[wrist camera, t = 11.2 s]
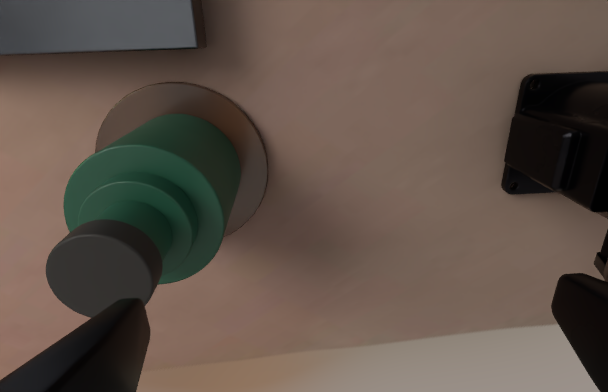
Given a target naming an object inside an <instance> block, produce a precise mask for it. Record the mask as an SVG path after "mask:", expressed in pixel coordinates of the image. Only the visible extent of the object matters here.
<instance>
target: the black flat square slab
mask: <svg viewBox="0 0 608 392" xmlns="http://www.w3.org/2000/svg"><path fill="white" fill-rule="evenodd" d="M206 47H207V44H206V36H205V28H204V20H203V12H202V4H201V0H0V55H29V54H59V53H88V52H117V51H146V50H175V49H199V48H206Z"/></svg>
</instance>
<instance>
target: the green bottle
mask: <svg viewBox="0 0 608 392" xmlns="http://www.w3.org/2000/svg"><path fill="white" fill-rule="evenodd" d="M240 177H241V168H240V162H239V158H238V155H237V153H236V151H235V148H234V147H233V145H232V143H231V142H230V140H229V139H228V138H227V137H226V136H225V134H224V133H222V132H221V131H220V130H219V129H218V128H217V127H215V126H214V125H213V124H211V123H209V122H207V121H206V120H203V119H201V118H198V117H195V116H192V115H186V114H167V115H163V116H159V117H156V118H154V119H151V120H150V121H148V122H146V123H145V124H143V125H141V126H140V127H138V128H136V129H135V130H133V131H131V132H130V133H128V134H126V135H125V136H123V137H121V138H120V139H118V140H116V141H115V142H113V143H111V144H110V145H108V146H106V147H105V148H103V149H101V150H100V151H98V152H96V153H95V154H93V155H91V156H90V157H88V158H87V159H86V160H84V161H83V162H82V163H81V164H80V165H79V166H78V167H77V169H76V170H75V171H74V173H73V174H72V176H71V177H70V180H69V182H68V184H67V187H66V191H65V195H64V215H65V219H66V224H67V226H68V229H69V231H70V233H69V234H68V235H67V236H66V237H65V238H64V239H63V240H62V241H60V242H59V243H58V244H57V245H56V246H55V247H54V248H53V250H52V251H51V253H50V254H49V257H48V260H47V264H46V277H47V280H48V283H49V286H50V288H51V289H52V291H53V293H54V294H55V295H56V296H57V298H58V299H59V300H60V301H61V302H62V303H63V304H65V305H66V306H67V307H69V308H70V309H72V310H73V311H75V312H77V313H79V314H82V315H84V316H87V317H91V318H93V317H94V316H96V315H97V314H99V313H100V312H101V311H103V310H104V309H106V308H107V307H109V306H110V305H112V304H113V303H115V302H116V301H118V300H119V299H123V298H140V299H142V301H143V303H144V306H145V305H146V304H147V303H148V301H149V300H150V298H151V296H152V294H153V292H154V290H155V288H156V287H157V285H158V284H167V283H173V282H177V281H180V280H183V279H186V278H188V277H190V276H192V275H194V274H196V273H197V272H199V271H200V270H202V269H203V268H204V267H205V266H206V265H207V264H208V263H209V262H210V261H211V260H212V259H213V258H214V256H215V255H216V253H217V251H218V250H219V247H220V245H221V243H222V240H223V236H224V233H225V230H226V227H227V223H228V220H229V217H230V214H231V211H232V207H233V204H234V201H235V198H236V194H237V191H238V188H239V184H240Z"/></svg>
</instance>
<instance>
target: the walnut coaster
mask: <svg viewBox="0 0 608 392" xmlns="http://www.w3.org/2000/svg"><path fill="white" fill-rule="evenodd" d="M167 114H186V115H192V116H195V117H198V118H201V119H203V120H206V121H207V122H209V123H211V124H213V125H214V126H215V127H217V128H218V129H219V130H220V131H221V132H222V133H224V134H225V136H226V137H227V138H228V139H229V140H230V142H231V143H232V145H233V147H234V148H235V151H236V153H237V155H238V158H239V162H240V168H241V177H240V184H239V188H238V191H237V194H236V198H235V201H234V204H233V207H232V211H231V214H230V217H229V220H228V223H227V227H226V230H225V233H224V236H223V237H225V236H227V235H229V234H231V233H233V232H234V231H236V230H237V229H239V228H240V227H242V226H243V225H244V224H245V223H246V222H247V221H248V220H249V219H250V218H251V217H252V215H253V214H254V213H255V212H256V210H257V208H258V207H259V205H260V203H261V201H262V199H263V196H264V193H265V190H266V186H267V178H268V162H267V155H266V151H265V147H264V144H263V141H262V139H261V137H260V135H259V133H258V131H257V129H256V128H255V126H254V124H253V123H252V122H251V120H250V119H249V118H248V116H247V115H246V114H245V113H244V112H243V111H242V110H241V109H240V108H239V107H238V106H237V105H235V104H234V103H233V102H232V101H230V100H229V99H227V98H226V97H224V96H222V95H221V94H219V93H217V92H215V91H213V90H210V89H208V88H206V87H202V86H199V85H196V84H190V83H184V82H165V83H157V84H153V85H149V86H146V87H143V88H141V89H138V90H136V91H134V92H132V93H130V94H129V95H127V96H125V97H124V98H123V99H122V100H120V101H119V102H118V103H117V104H116V105H115V106H114V107H113V108H112V109H111V111H110V112H109V113H108V115H107V116H106V118H105V119H104V121H103V123H102V125H101V128H100V130H99V133H98V137H97V141H96V150H95V153H96V152H98V151H100V150H101V149H103V148H105V147H106V146H108V145H110V144H111V143H113V142H115V141H116V140H118V139H120V138H121V137H123V136H125V135H126V134H128V133H130V132H131V131H133V130H135V129H136V128H138V127H140V126H141V125H143V124H145V123H146V122H148V121H150V120H151V119H154V118H156V117H159V116H163V115H167Z"/></svg>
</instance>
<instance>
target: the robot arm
mask: <svg viewBox="0 0 608 392" xmlns="http://www.w3.org/2000/svg"><path fill="white" fill-rule="evenodd" d="M533 80H534V81H535V85H534V87H533V88H532V89H531V88H530V84H531V82H532V81H533ZM504 161H505V168H504V173H503V179H502V184H501V186H502V189H503V190H504V191H506V192H507V193H509V194H530V193H551V192H558V193H560V194H561V195H563V196H565V197H567V198H569V199H570V200H572V201H574V202H576V203H577V204H579V205H581V206H583V207H585V208H586V209H588V210H590V211H592V212H596V213H598V214H600V215H601V216H603V217H605V218H607V219H608V71H595V72H569V73H542V74H530V75H527V76H526V77H524V79H523V80H522V82H521V85H520V90H519V95H518V100H517V106H516V111H515V116H514V117H513V118H512V122H511V128H510V133H509V138H508V144H507V149H506V154H505V159H504ZM513 182H514V185H513V186H512V187H510V184H511V183H513ZM594 265H595V266H596V268H597V269H598V270H599V272H600V273H601V275H602V276H603V277H604V279H605V281H602V280H600V279H597V278H594V277H592V276H589V275H587V274H583V273H574V274H564V275H562V276H561V277H560V278H559V280H558V283H557V287H556V290H555V294H554V297H553V301H552V305H551V308H552V313H553V315H554V317H555V319H556V321H557V322H558V324H559V326H560V327H561V329H562V331H563V332H564V334H565V336H566V337H567V339H568V341H569V342H570V344H571V346H572V347H573V349H574V350H575V352H576V354H577V356H578V357H579V359H580V361H581V362H582V364H583V366H584V367H585V369H586V371H587V372H588V374H589V376H590V377H591V379H592V380H593V382H594V383H595V385H596V386H597V388H598V389H599V390H600V392H608V230H607V233H606V236H605V239H604V242H603V245H602V249H601V252H598V253H597V254H596V257H595V261H594ZM149 340H150V326H149V322H148V318H147V314H146V310H145V306H144V303H143V301H142V299H140V298H123V299H119V300H118V301H116V302H115V303H113V304H112V305H110V306H109V307H107V308H106V309H104V310H103V311H101V312H100V313H99V314H97V315H96V316H94V317H93V318H91V319H90V320H88V321H87V322H85V323H84V324H82V325H81V326H79V327H78V328H76V329H75V330H74V331H72V332H71V333H69V334H68V335H66V336H65V337H63V338H62V339H60V340H59V341H57V342H56V343H54V344H53V345H51V346H50V347H49V348H47V349H46V350H44V351H43V352H41V353H40V354H38V355H37V356H35V357H34V358H32V359H31V360H29V361H28V362H26V363H25V364H24V365H22V366H21V367H19V368H18V369H16V370H15V371H13V372H12V373H10V374H9V375H7V376H6V377H4V378H3V379H1V380H0V392H136V390H137V386H138V382H139V378H140V374H141V371H142V367H143V363H144V359H145V355H146V351H147V348H148V344H149Z"/></svg>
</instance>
